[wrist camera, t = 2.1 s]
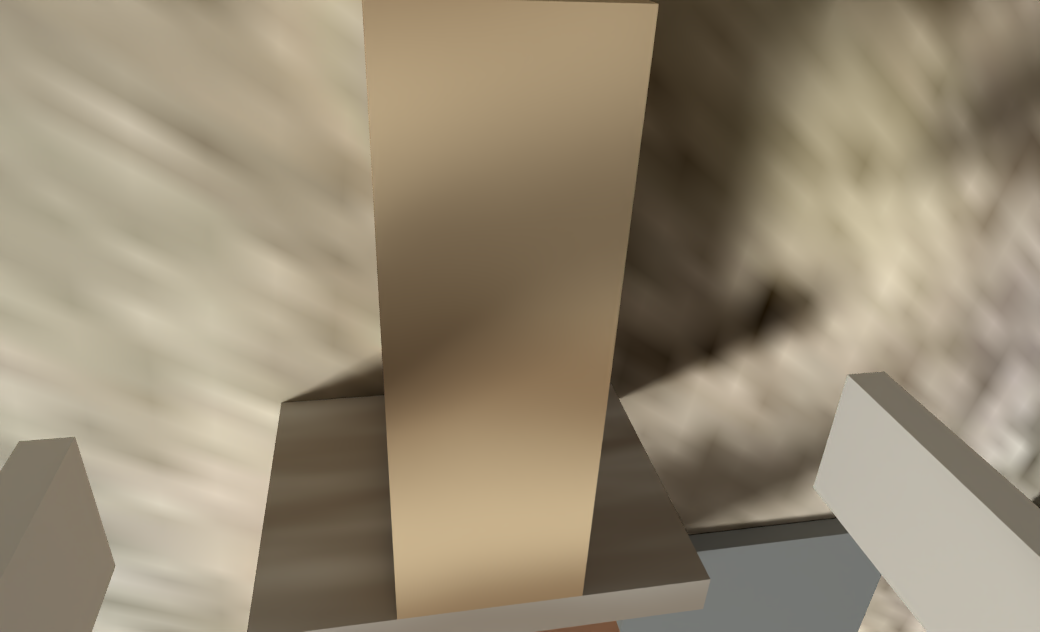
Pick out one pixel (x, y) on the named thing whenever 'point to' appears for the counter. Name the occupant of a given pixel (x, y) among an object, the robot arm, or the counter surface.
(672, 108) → the counter surface
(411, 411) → the tan rectangular block
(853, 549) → the slate mat
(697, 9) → the counter surface
